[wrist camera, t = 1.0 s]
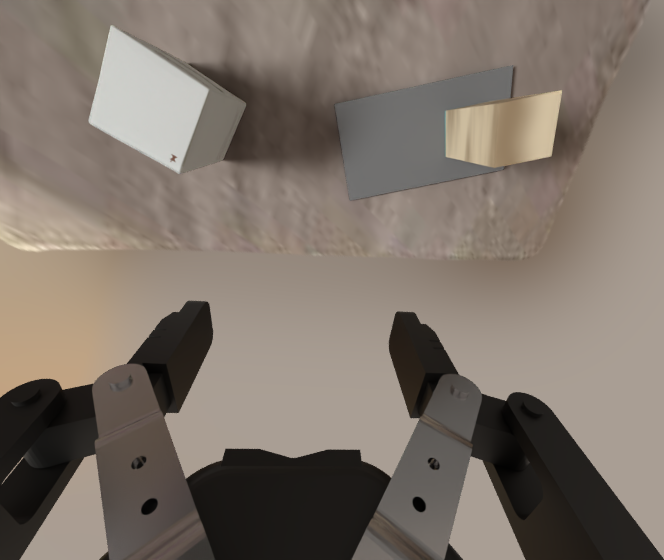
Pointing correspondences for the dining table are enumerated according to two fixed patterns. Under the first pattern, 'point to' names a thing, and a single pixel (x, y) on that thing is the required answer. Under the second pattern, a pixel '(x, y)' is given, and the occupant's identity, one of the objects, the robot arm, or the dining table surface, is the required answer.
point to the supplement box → (162, 105)
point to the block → (503, 130)
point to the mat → (410, 133)
